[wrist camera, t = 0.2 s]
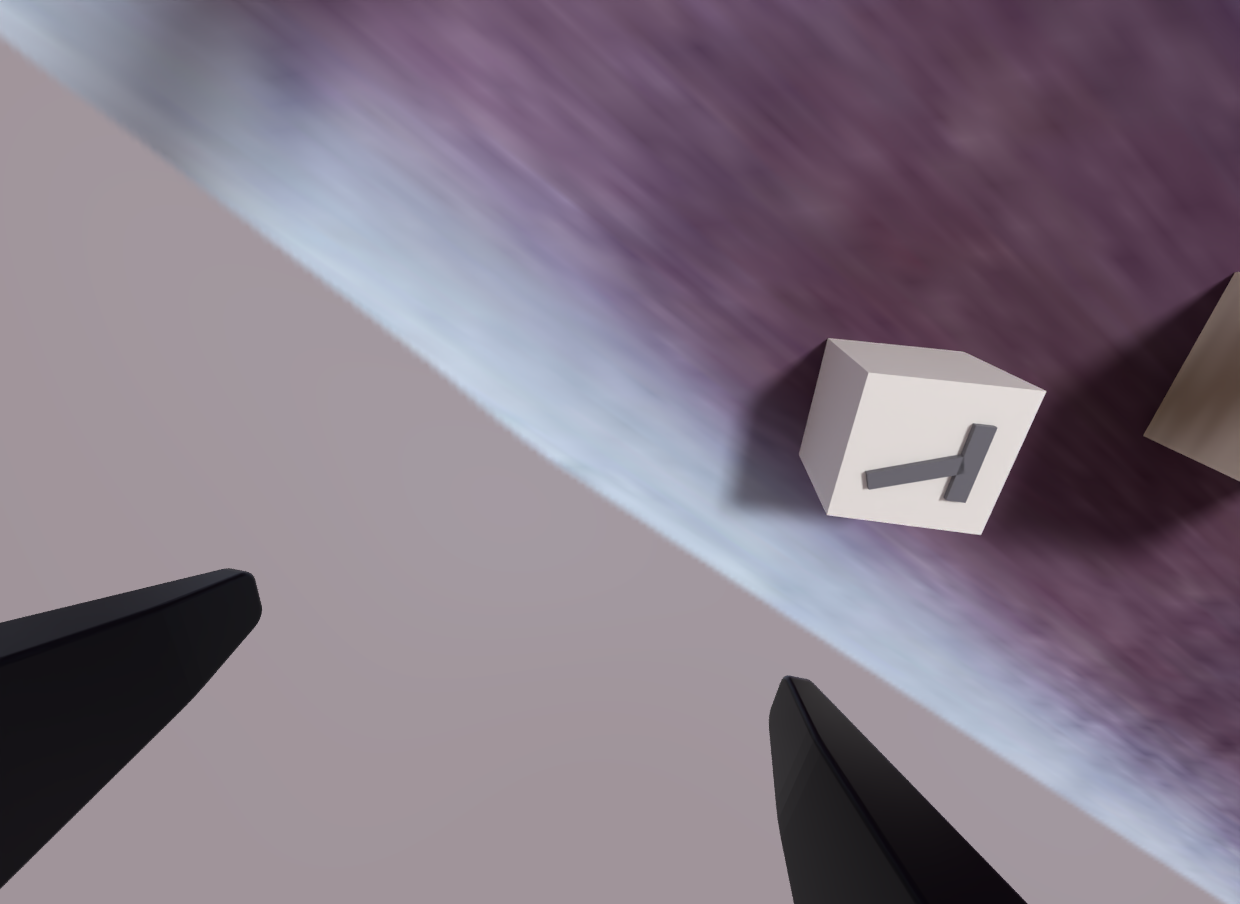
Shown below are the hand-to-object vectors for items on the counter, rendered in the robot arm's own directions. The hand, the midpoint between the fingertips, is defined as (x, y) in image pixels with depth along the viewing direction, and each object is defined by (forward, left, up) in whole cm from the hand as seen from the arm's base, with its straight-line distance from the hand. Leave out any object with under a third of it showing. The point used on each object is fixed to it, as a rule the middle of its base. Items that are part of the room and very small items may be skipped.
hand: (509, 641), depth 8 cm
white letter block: (0, +10, -14) cm, 18 cm away
